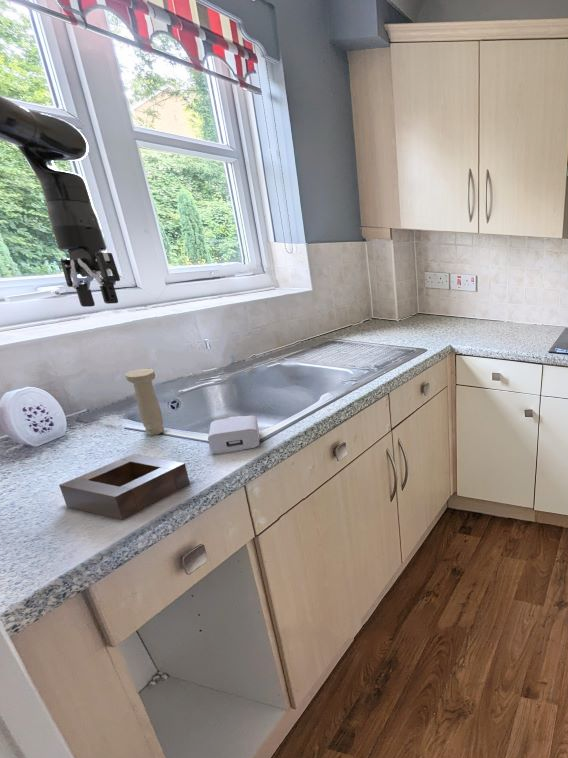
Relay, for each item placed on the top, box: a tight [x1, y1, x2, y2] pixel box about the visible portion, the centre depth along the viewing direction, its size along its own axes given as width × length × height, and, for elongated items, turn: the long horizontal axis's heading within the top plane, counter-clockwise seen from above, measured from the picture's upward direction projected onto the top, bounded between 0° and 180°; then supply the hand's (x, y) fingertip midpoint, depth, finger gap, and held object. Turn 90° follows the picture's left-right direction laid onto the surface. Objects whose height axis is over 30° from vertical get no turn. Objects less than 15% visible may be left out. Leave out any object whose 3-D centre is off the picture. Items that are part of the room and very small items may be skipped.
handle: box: [125, 368, 165, 436], centre depth 105 cm, size 5×6×15 cm
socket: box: [58, 453, 191, 521], centre depth 83 cm, size 12×12×4 cm
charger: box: [207, 415, 260, 454], centre depth 107 cm, size 5×9×15 cm
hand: (100, 304), depth 99 cm, fingers open, 8 cm apart
